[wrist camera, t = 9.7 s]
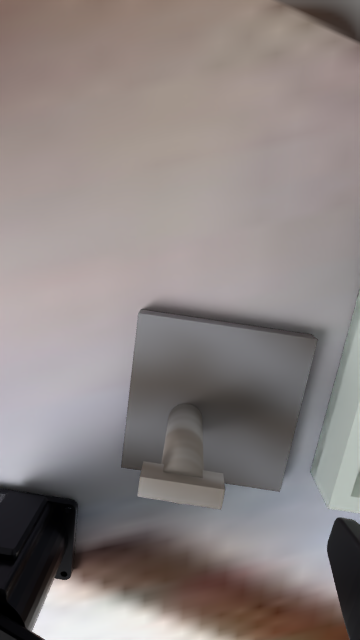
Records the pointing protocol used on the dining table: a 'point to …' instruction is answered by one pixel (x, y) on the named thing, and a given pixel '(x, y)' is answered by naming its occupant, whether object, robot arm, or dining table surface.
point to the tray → (342, 431)
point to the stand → (212, 406)
